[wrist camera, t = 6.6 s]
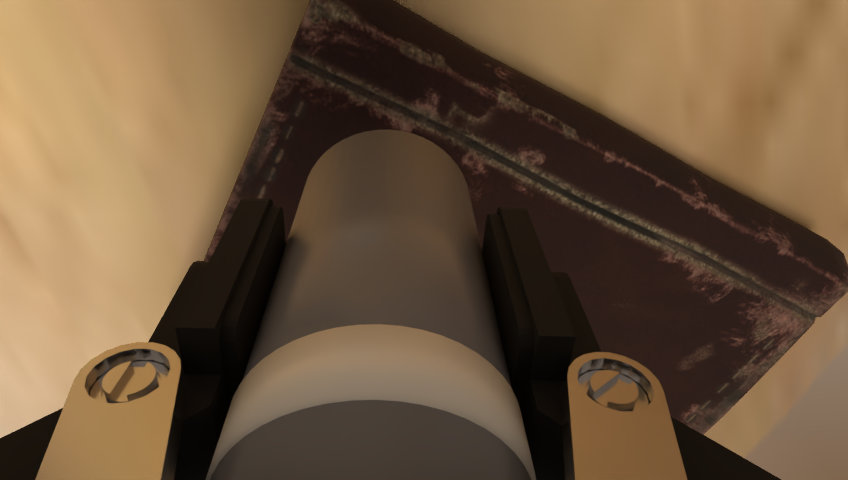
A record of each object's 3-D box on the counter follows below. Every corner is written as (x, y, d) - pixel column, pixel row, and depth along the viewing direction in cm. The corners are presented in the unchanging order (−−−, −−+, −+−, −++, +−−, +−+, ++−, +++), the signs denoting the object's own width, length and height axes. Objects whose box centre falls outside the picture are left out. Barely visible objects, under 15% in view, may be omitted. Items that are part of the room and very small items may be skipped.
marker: (295, 123, 13) (-94, 1000, 3) (480, 131, 13) (751, 970, 3) (304, 277, 15) (99, 1105, 5) (464, 281, 15) (590, 1080, 5)
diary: (334, -42, 23) (318, -25, 18) (804, 219, 29) (875, 277, 25) (189, 310, 31) (155, 379, 26) (582, 452, 37) (606, 525, 33)
